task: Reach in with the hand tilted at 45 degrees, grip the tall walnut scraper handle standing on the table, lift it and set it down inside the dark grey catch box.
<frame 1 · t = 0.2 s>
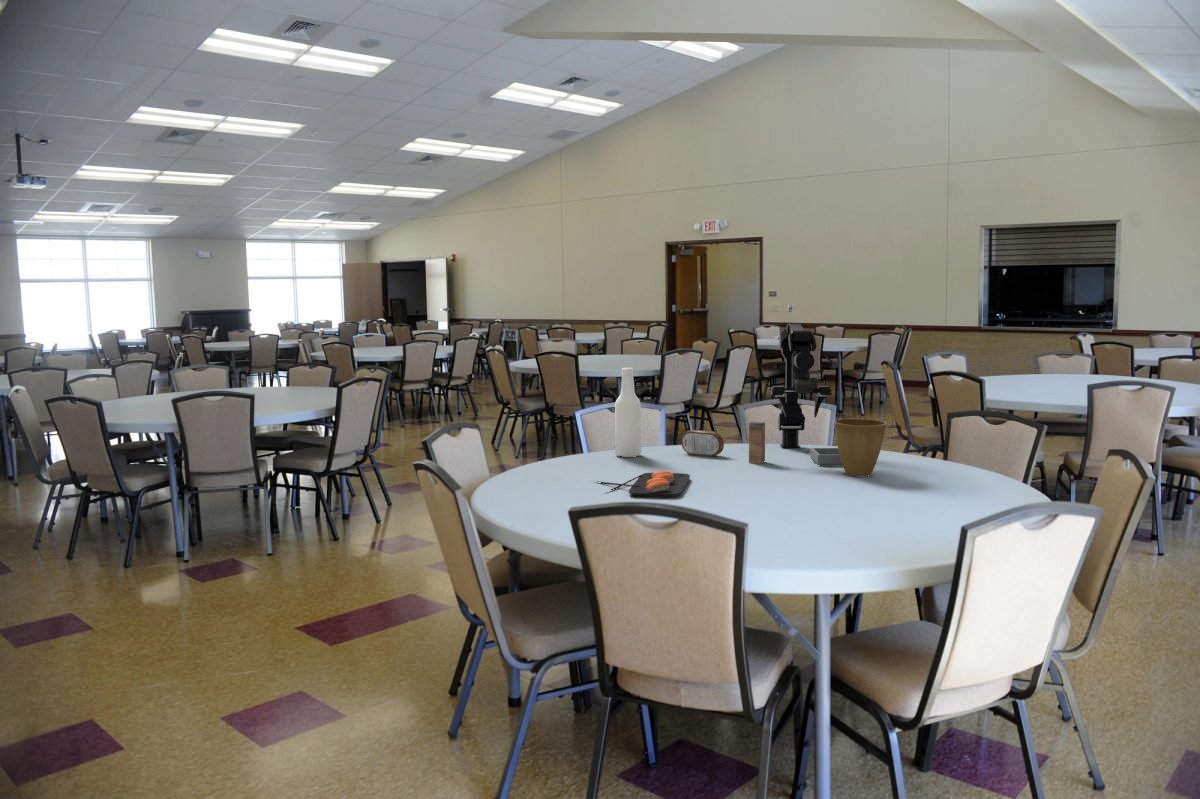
hand: (800, 417, 295), 14 cm above the table, tool pointing down, fingers open, 9 cm apart
tin: (702, 455, 311), on the table
sushi plate: (633, 489, 261), on the table
catch box: (835, 462, 294), on the table
alcohol: (628, 456, 311), on the table
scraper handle: (756, 462, 296), on the table
plant pot: (859, 475, 273), on the table
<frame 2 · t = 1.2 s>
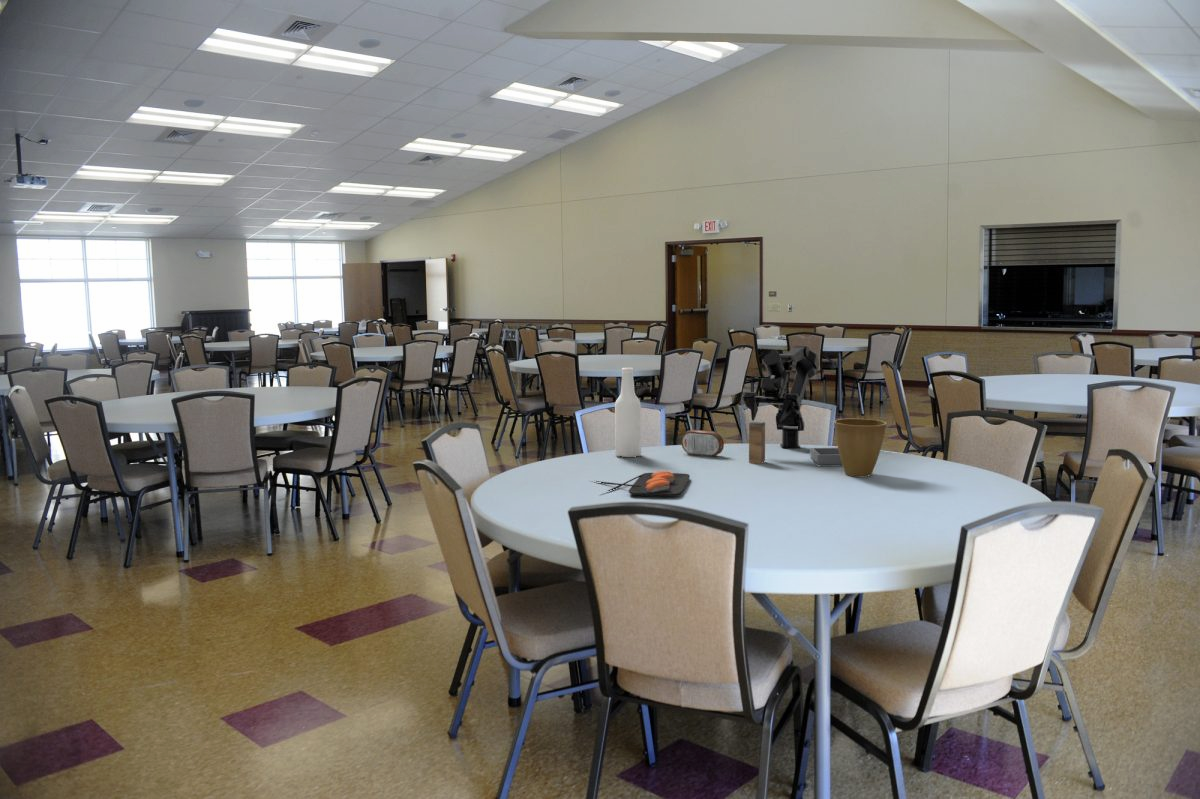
hand: (765, 420, 301), 13 cm above the table, tool tilted 45°, fingers open, 9 cm apart
nothing on the table moved.
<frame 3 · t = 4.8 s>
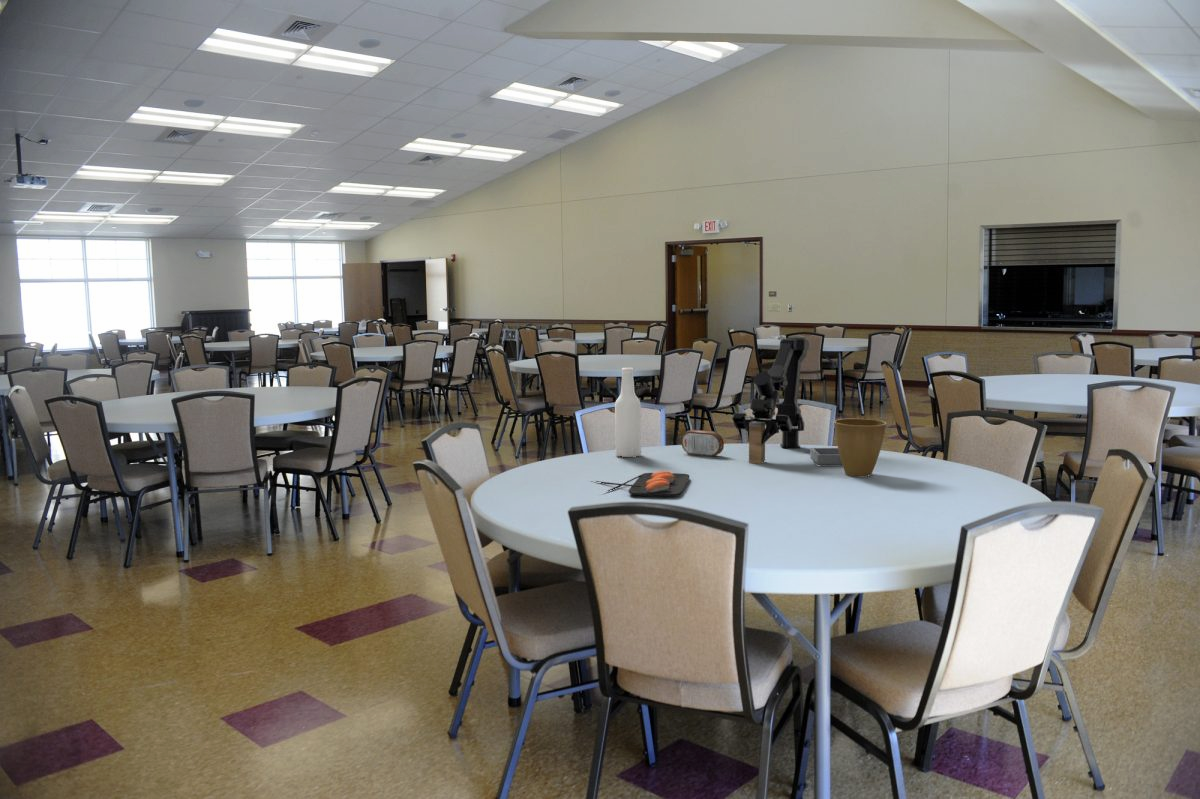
hand: (755, 442, 294), 7 cm above the table, tool tilted 45°, fingers closed on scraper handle, 4 cm apart
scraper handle: (756, 462, 296), on the table, touching gripper
everything else where it was.
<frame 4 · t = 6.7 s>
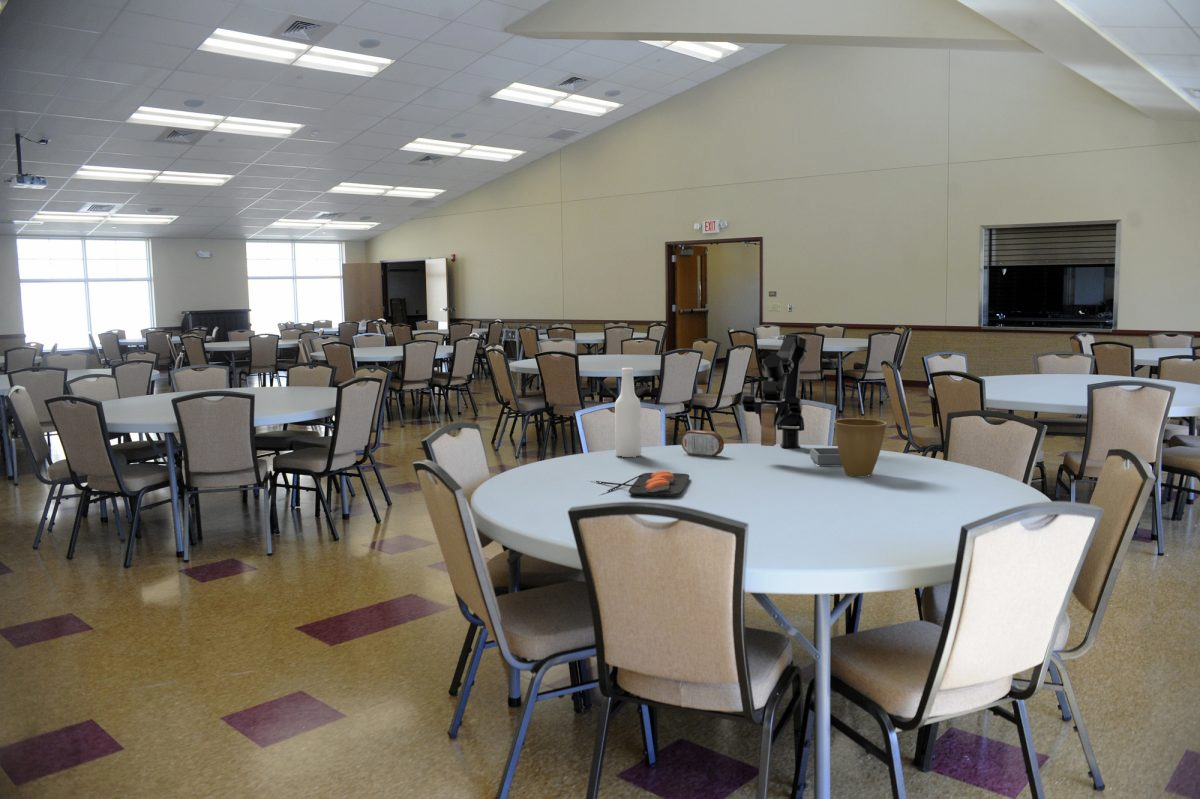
hand: (767, 425, 292), 12 cm above the table, tool tilted 45°, fingers closed on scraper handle, 4 cm apart
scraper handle: (768, 444, 294), point 6 cm above the table, touching gripper
everything else where it was.
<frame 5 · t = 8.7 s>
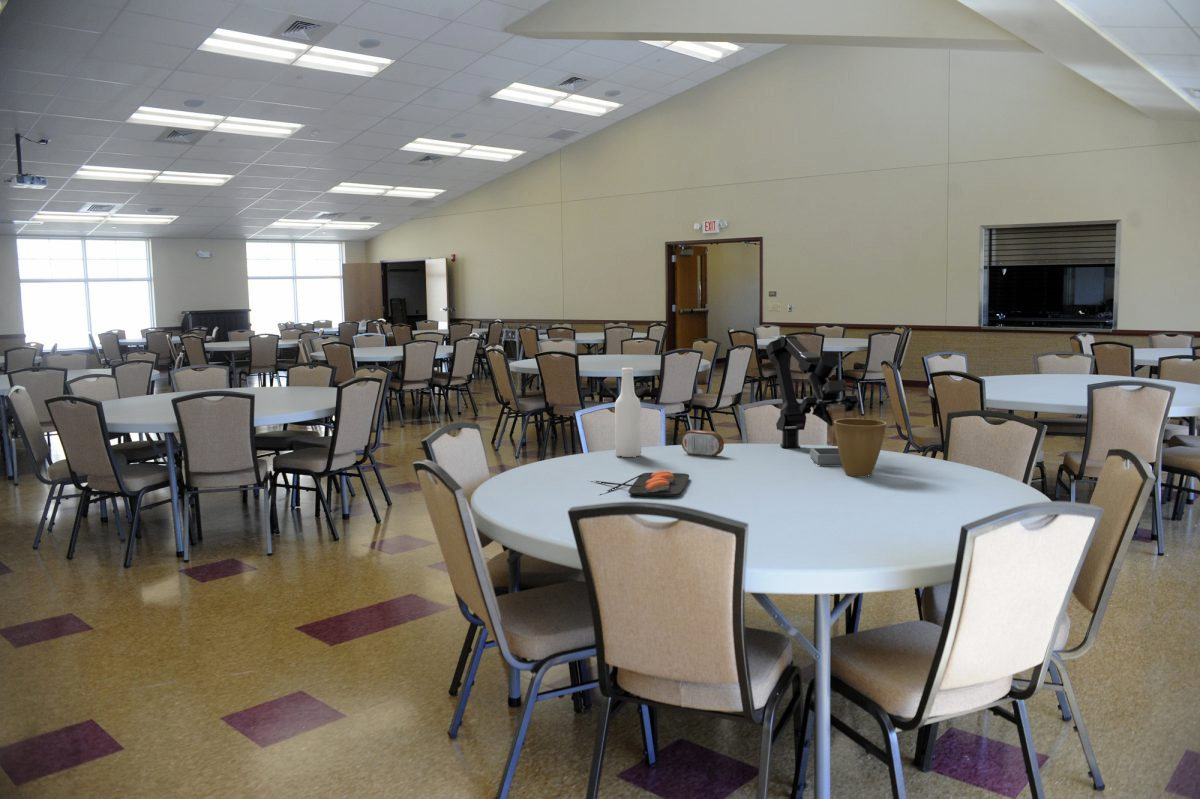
hand: (837, 424, 292), 12 cm above the table, tool tilted 45°, fingers closed on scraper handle, 4 cm apart
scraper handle: (835, 444, 294), point 6 cm above the table, touching gripper
everything else where it was.
when the fingers open (9 cm above the table, at t = 9.8 s): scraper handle drops 1 cm, resting on catch box.
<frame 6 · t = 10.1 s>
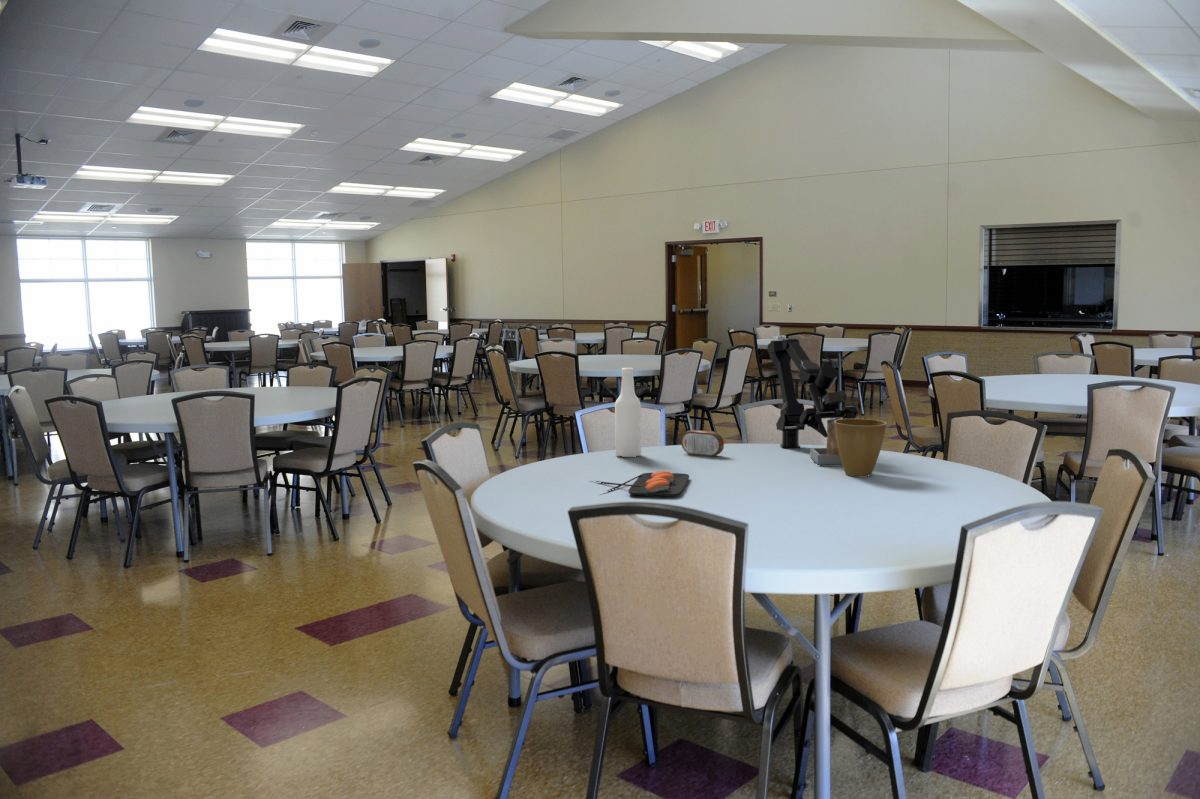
hand: (837, 436, 292), 9 cm above the table, tool tilted 45°, fingers open, 8 cm apart
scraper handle: (835, 460, 294), point 1 cm above the table, touching catch box
everything else where it was.
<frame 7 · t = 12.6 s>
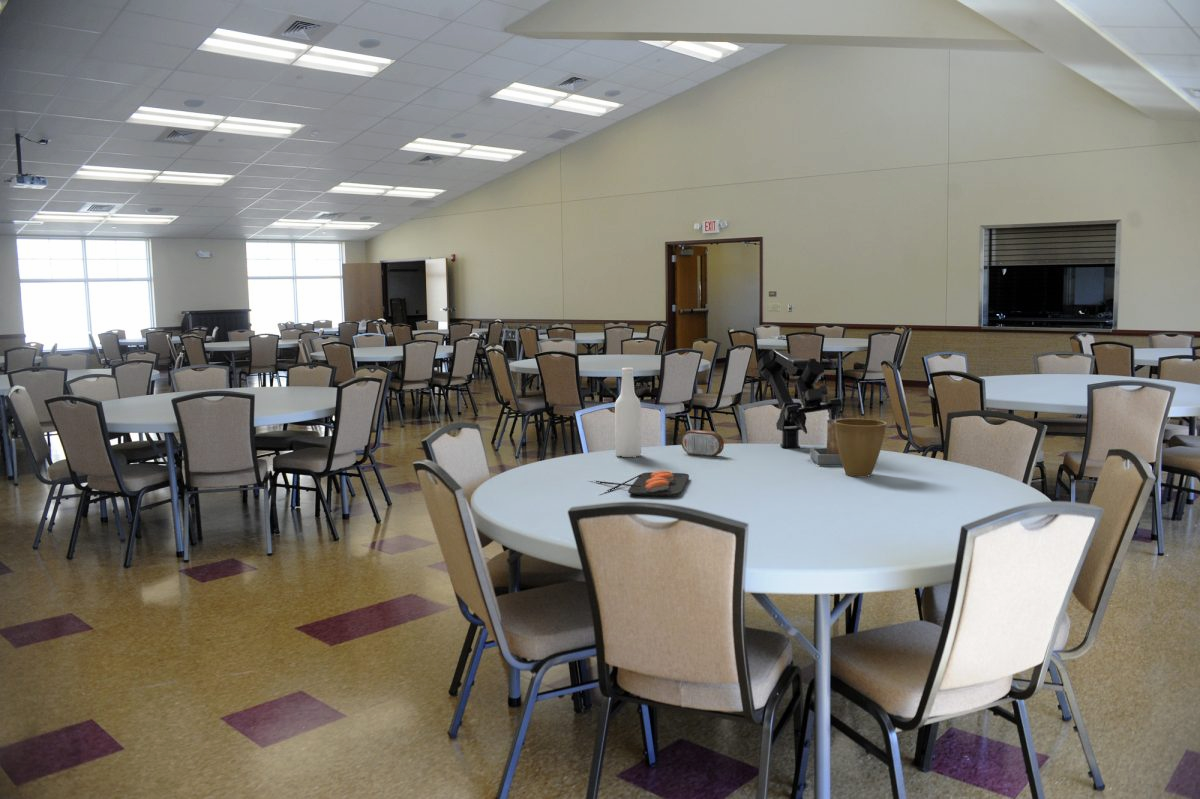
hand: (820, 430, 301), 9 cm above the table, tool tilted 40°, fingers open, 9 cm apart
nothing on the table moved.
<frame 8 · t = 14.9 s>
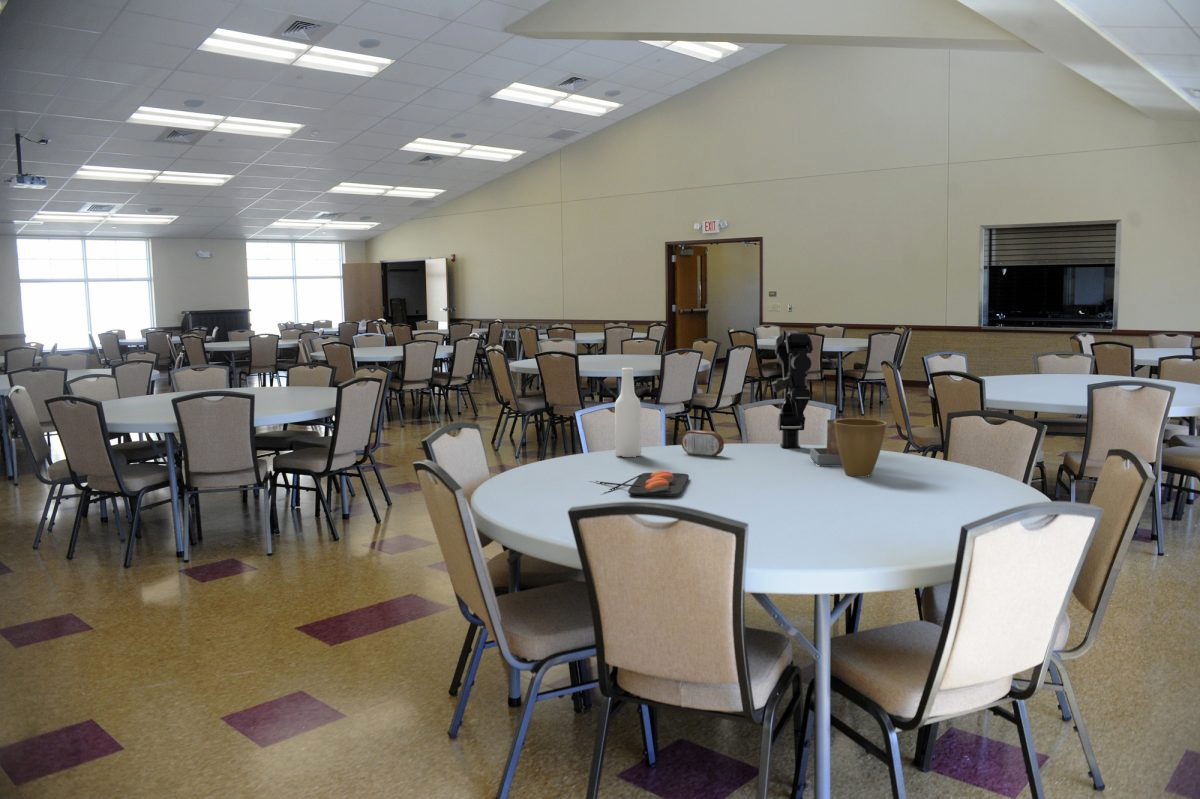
hand: (797, 416, 308), 13 cm above the table, tool pointing down, fingers open, 9 cm apart
nothing on the table moved.
at the end: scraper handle inside the target area on the catch box (0.1 cm from its centre), point 0.6 cm above the catch box's base; the gripper is holding nothing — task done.
